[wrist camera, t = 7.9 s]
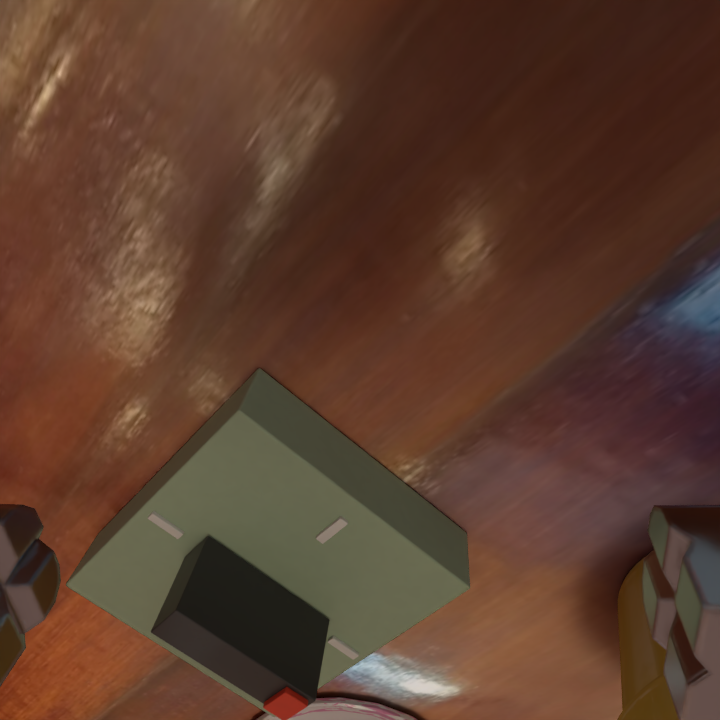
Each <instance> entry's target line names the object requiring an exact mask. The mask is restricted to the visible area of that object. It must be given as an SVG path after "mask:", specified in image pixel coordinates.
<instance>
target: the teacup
mask: <svg viewBox="0 0 720 720" xmlns="http://www.w3.org/2000/svg"><path fill="white" fill-rule="evenodd" d="M256 720H281V719H280V718H278V717H277V716H276V717H272V716H271V715H269V714H268V713H265V714H263V715H262V716H260V717H259V718H257V719H256ZM288 720H417V719H416V718H414V717H413V716H410V715H408V714H405V713H402V712H400V711H397V710H394V709H392V708H389V707H386V706H384V705H381V704H378V703H373V702H367V701H360V700H354V699H348V698H341V697H336V698H316V700H315V702H313V703H312V704H310V705H309V706H307V707H306V708H305V709H303V710H301V711H300V712H298V713H297V714H295V715H294V716H292V717H291V718H289V719H288Z"/></svg>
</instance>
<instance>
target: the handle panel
mask: <svg viewBox="0 0 720 720" xmlns="http://www.w3.org/2000/svg"><path fill="white" fill-rule="evenodd" d="M207 536H210V537H211V538H213V539H214V540H216V541H217V542H219V543H220V544H221V545H223V546H224V547H226V548H227V549H229V550H230V551H232V552H233V553H234V554H236V555H237V556H239V557H240V558H242V559H243V560H244V561H246V562H247V563H249V564H250V565H252V566H253V567H255V568H256V569H257V570H259V571H260V572H262V573H263V574H265V575H266V576H267V577H269V578H270V579H272V580H273V581H275V582H276V583H278V584H279V585H280V586H282V587H283V588H285V589H286V590H288V591H289V592H290V593H292V594H293V595H295V596H296V597H298V598H299V599H301V600H302V601H303V602H305V603H306V604H308V605H309V606H311V607H312V608H313V609H315V610H316V611H318V612H319V613H321V614H322V615H324V616H325V617H326V618H328V619H329V620H330V621H329V626H328V632H327V638H326V644H325V649H324V655H323V661H322V667H321V672H320V678H319V684H318V689H319V688H320V687H322V686H323V685H325V684H326V683H328V682H329V681H331V680H332V679H334V678H335V677H337V676H338V675H340V674H341V673H343V672H344V671H346V670H347V669H349V668H350V667H352V666H353V665H355V664H356V663H358V662H359V661H361V660H362V659H364V658H365V657H367V656H369V655H370V654H372V653H373V652H375V651H376V650H378V649H379V648H381V647H382V646H384V645H385V644H387V643H388V642H390V641H391V640H393V639H394V638H396V637H397V636H399V635H400V634H402V633H403V632H405V631H406V630H408V629H409V628H411V627H412V626H414V625H415V624H417V623H419V622H420V621H422V620H423V619H425V618H426V617H428V616H429V615H431V614H432V613H434V612H435V611H437V610H438V609H440V608H441V607H443V606H444V605H446V604H447V603H449V602H450V601H452V600H453V599H455V598H456V597H458V596H459V595H461V594H462V593H464V592H466V591H467V590H469V588H470V578H469V560H468V543H467V533H466V532H465V531H464V530H462V529H461V528H460V527H459V526H457V525H456V524H455V523H454V522H452V521H451V520H450V519H449V518H447V517H446V516H445V515H444V514H442V513H441V512H440V511H439V510H437V509H436V508H435V507H434V506H432V505H431V504H430V503H429V502H427V501H426V500H425V499H424V498H422V497H421V496H420V495H419V494H417V493H416V492H415V491H413V490H412V489H411V488H410V487H408V486H407V485H406V484H405V483H403V482H402V481H401V480H400V479H398V478H397V477H396V476H395V475H393V474H392V473H391V472H390V471H388V470H387V469H386V468H385V467H383V466H382V465H381V464H380V463H378V462H377V461H376V460H375V459H373V458H372V457H371V456H370V455H368V454H367V453H366V452H365V451H363V450H362V449H361V448H360V447H358V446H357V445H356V444H355V443H353V442H352V441H351V440H349V439H348V438H347V437H346V436H344V435H343V434H342V433H341V432H339V431H338V430H337V429H336V428H334V427H333V426H332V425H331V424H329V423H328V422H327V421H326V420H324V419H323V418H322V417H321V416H319V415H318V414H317V413H316V412H314V411H313V410H312V409H311V408H309V407H308V406H307V405H306V404H304V403H303V402H302V401H301V400H299V399H298V398H297V397H296V396H294V395H293V394H292V393H291V392H289V391H288V390H287V389H285V388H284V387H283V386H282V385H280V384H279V383H278V382H277V381H275V380H274V379H273V378H272V377H270V376H269V375H268V374H267V373H265V372H264V371H263V370H262V369H260V368H259V369H257V370H256V371H255V372H254V373H253V374H252V376H251V377H250V378H249V379H248V380H247V381H246V382H245V383H244V384H243V385H242V386H241V387H240V388H239V389H238V390H237V391H236V392H235V393H234V394H233V395H232V396H231V397H230V398H229V399H228V400H227V401H226V402H225V403H224V404H223V405H222V407H221V408H220V409H219V410H218V411H217V412H216V413H215V414H214V415H213V416H212V417H211V418H210V419H209V420H208V421H207V422H206V423H205V424H204V425H203V426H202V427H201V428H200V429H199V430H198V431H197V432H196V433H195V434H194V435H193V437H192V438H191V439H190V440H189V441H188V442H187V443H186V444H185V445H184V446H183V447H182V448H181V449H180V450H179V451H178V452H177V453H176V454H175V455H174V456H173V457H172V458H171V459H170V460H169V461H168V462H167V463H166V464H165V465H164V466H163V468H162V469H161V470H160V471H159V472H158V473H157V474H156V475H155V476H154V477H153V478H152V479H151V480H150V481H149V482H148V483H147V484H146V485H145V486H144V487H143V488H142V489H141V490H140V491H139V492H138V493H137V494H136V495H135V496H134V497H133V499H132V500H131V501H130V502H129V503H128V504H127V505H126V506H125V507H124V508H123V509H122V510H121V511H120V512H119V513H118V514H117V515H116V516H115V517H114V518H113V519H112V520H111V521H110V522H109V523H108V524H107V525H106V526H105V527H104V529H103V530H102V531H101V532H100V533H99V534H98V535H97V536H96V538H95V539H94V541H93V543H92V544H91V546H90V547H89V549H88V550H87V552H86V553H85V555H84V557H83V558H82V560H81V561H80V563H79V564H78V566H77V567H76V569H75V571H74V572H73V574H72V575H71V577H70V578H69V580H68V581H67V583H66V586H67V587H69V588H70V589H72V590H73V591H75V592H76V593H78V594H80V595H81V596H83V597H84V598H86V599H88V600H89V601H91V602H92V603H94V604H95V605H97V606H99V607H100V608H102V609H103V610H105V611H107V612H108V613H110V614H111V615H113V616H114V617H116V618H118V619H119V620H121V621H122V622H124V623H125V624H127V625H129V626H130V627H132V628H133V629H135V630H137V631H138V632H140V633H141V634H143V635H144V636H146V637H148V638H149V639H151V640H152V641H154V642H155V643H157V644H159V645H160V646H162V647H163V648H165V649H167V650H168V651H170V652H171V653H173V654H174V655H176V656H178V657H179V658H181V659H182V660H184V661H186V662H187V663H189V664H190V665H192V666H193V667H195V668H197V669H198V670H200V671H201V672H203V673H204V674H206V675H208V676H209V677H211V678H212V679H214V680H216V681H217V682H219V683H220V684H222V685H223V686H225V687H227V688H228V689H230V690H231V691H233V692H234V693H236V694H238V695H239V696H241V697H242V698H244V699H246V700H247V701H249V702H250V703H252V704H253V705H255V706H257V707H258V708H260V709H261V710H263V711H265V712H266V713H268V714H269V715H271V716H272V717H276V716H275V715H273V714H272V713H270V712H269V711H267V710H265V709H264V708H263V705H264V704H263V703H261V702H260V701H258V700H257V699H255V698H253V697H252V696H250V695H249V694H247V693H245V692H244V691H242V690H241V689H239V688H238V687H236V686H234V685H233V684H231V683H230V682H228V681H226V680H225V679H223V678H222V677H220V676H219V675H217V674H215V673H214V672H212V671H211V670H209V669H208V668H206V667H204V666H203V665H201V664H200V663H198V662H196V661H195V660H193V659H192V658H190V657H189V656H187V655H185V654H184V653H182V652H181V651H179V650H178V649H176V648H174V647H173V646H171V645H170V644H168V643H166V642H165V641H163V640H162V639H160V638H159V637H157V636H155V635H154V634H152V633H151V630H152V628H153V625H154V623H155V621H156V619H157V617H158V614H159V612H160V610H161V608H162V606H163V604H164V601H165V599H166V597H167V595H168V593H169V590H170V588H171V586H172V584H173V582H174V580H175V577H176V575H177V573H178V571H179V569H180V566H181V564H182V562H183V560H184V558H185V556H186V555H187V554H188V553H190V552H191V551H192V550H193V549H194V548H195V547H196V546H197V545H198V544H199V543H201V542H202V541H203V540H204V539H205V538H206V537H207Z"/></svg>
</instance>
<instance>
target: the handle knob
mask: <svg viewBox="0 0 720 720" xmlns="http://www.w3.org/2000/svg"><path fill="white" fill-rule="evenodd" d="M329 621H330V620H329V619H328V618H326V617H325V616H324V615H322V614H321V613H319V612H318V611H316V610H315V609H313V608H312V607H311V606H309V605H308V604H306V603H305V602H303V601H302V600H301V599H299V598H298V597H296V596H295V595H293V594H292V593H290V592H289V591H288V590H286V589H285V588H283V587H282V586H280V585H279V584H278V583H276V582H275V581H273V580H272V579H270V578H269V577H267V576H266V575H265V574H263V573H262V572H260V571H259V570H257V569H256V568H255V567H253V566H252V565H250V564H249V563H247V562H246V561H244V560H243V559H242V558H240V557H239V556H237V555H236V554H234V553H233V552H232V551H230V550H229V549H227V548H226V547H224V546H223V545H221V544H220V543H219V542H217V541H216V540H214V539H213V538H211V537H210V536H207V537H206V538H205V539H204V540H203V541H202V542H201V543H199V544H198V545H197V546H196V547H195V548H194V549H193V550H192V551H191V552H190V553H188V554H187V555H186V556H185V558H184V560H183V562H182V564H181V566H180V569H179V571H178V573H177V575H176V577H175V580H174V582H173V584H172V586H171V588H170V590H169V593H168V595H167V597H166V599H165V601H164V604H163V606H162V608H161V610H160V612H159V614H158V617H157V619H156V621H155V623H154V625H153V628H152V630H151V633H152V634H154V635H155V636H157V637H159V638H160V639H162V640H163V641H165V642H166V643H168V644H170V645H171V646H173V647H174V648H176V649H178V650H179V651H181V652H182V653H184V654H185V655H187V656H189V657H190V658H192V659H193V660H195V661H196V662H198V663H200V664H201V665H203V666H204V667H206V668H208V669H209V670H211V671H212V672H214V673H215V674H217V675H219V676H220V677H222V678H223V679H225V680H226V681H228V682H230V683H231V684H233V685H234V686H236V687H238V688H239V689H241V690H242V691H244V692H245V693H247V694H249V695H250V696H252V697H253V698H255V699H257V700H258V701H260V702H261V703H263V704H264V705H263V708H264V709H265V710H267V711H269V712H270V713H272V714H273V715H275V716H277V717H278V718H280V719H281V720H288V719H289V718H291V717H292V716H294V715H295V714H297V713H298V712H300V711H301V710H303V709H305V708H306V707H307V706H309V705H310V704H312V703H313V702H315V700H316V695H317V690H318V684H319V678H320V672H321V667H322V661H323V655H324V649H325V644H326V638H327V632H328V626H329Z"/></svg>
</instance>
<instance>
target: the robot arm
mask: <svg viewBox="0 0 720 720" xmlns="http://www.w3.org/2000/svg"><path fill="white" fill-rule="evenodd" d="M42 530H43V525H42V523H41V521H40V518H39V516H38V514H37V512H36V510H35V509H34V508H31V507H28V506H25V505H15V504H0V686H1V685H2V683H3V682H4V680H5V679H6V677H7V676H8V674H9V673H10V671H11V670H12V668H13V667H14V665H15V663H16V662H17V660H18V659H19V657H20V656H21V654H22V653H23V651H24V650H25V648H26V645H25V633H26V632H28V631H29V630H30V629H32V628H33V627H35V626H36V625H38V624H39V623H41V622H42V621H43V620H44V619H45V618H46V616H47V615H48V613H49V611H50V610H51V608H52V607H53V605H54V603H55V601H56V597H57V593H58V589H59V586H60V582H61V579H60V567H59V563H58V560H57V558H56V555H55V553H54V551H53V550H52V549H51V548H49V547H48V546H47V545H46V544H44V543H43V542H42V541H41V540H40V539H39V537H40V535H41V532H42ZM647 531H648V534H649V537H650V539H651V542H652V545H653V548H654V550H653V551H652V552H651V553H649V554H648V555H647V556H646V557H645V558H644V561H643V571H642V594H643V605H644V609H645V614H646V619H647V623H648V626H649V629H650V633H651V636H652V638H653V639H654V640H655V641H656V642H657V643H658V644H659V645H661V646H662V647H663V648H664V649H665V650H666V655H665V662H664V668H663V674H664V677H665V680H666V683H667V686H668V689H669V692H670V695H671V698H672V701H673V704H674V707H675V710H676V713H677V716H678V719H679V720H720V505H654V507H653V509H652V511H651V513H650V517H649V524H648V530H647Z"/></svg>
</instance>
